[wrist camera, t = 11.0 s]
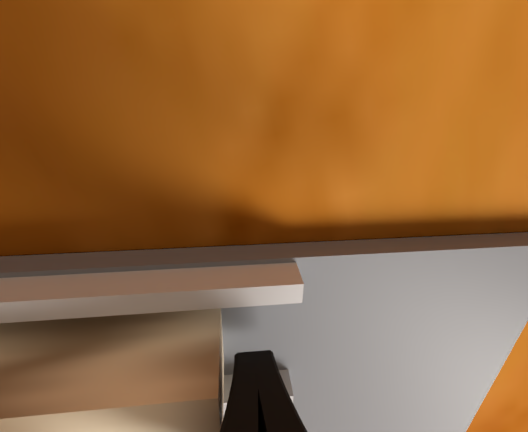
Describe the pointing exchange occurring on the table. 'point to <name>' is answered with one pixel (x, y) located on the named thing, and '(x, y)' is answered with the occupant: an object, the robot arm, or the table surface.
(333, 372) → the board
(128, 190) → the table surface
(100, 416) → the slat
